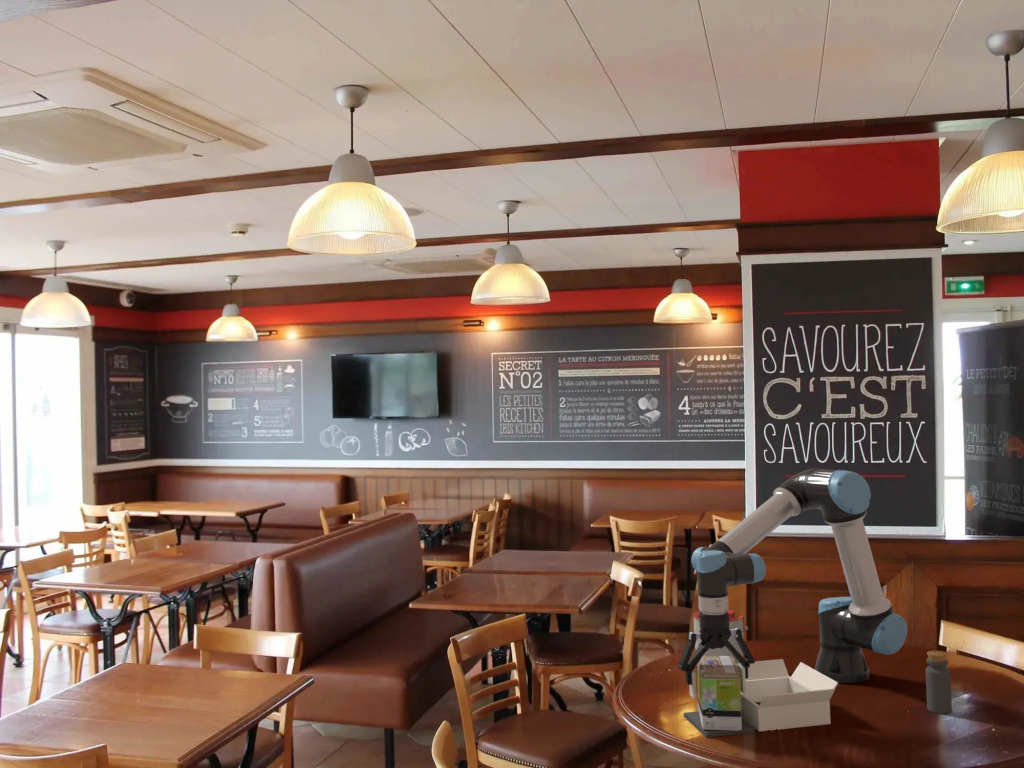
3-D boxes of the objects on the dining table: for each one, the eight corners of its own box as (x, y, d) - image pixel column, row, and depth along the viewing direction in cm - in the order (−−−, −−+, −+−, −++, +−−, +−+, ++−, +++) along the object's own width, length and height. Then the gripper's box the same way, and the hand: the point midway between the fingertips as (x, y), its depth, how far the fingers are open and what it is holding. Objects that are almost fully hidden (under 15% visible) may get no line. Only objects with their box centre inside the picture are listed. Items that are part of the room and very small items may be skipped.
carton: (795, 692, 241) (793, 657, 241) (849, 727, 214) (847, 687, 214) (719, 700, 237) (718, 664, 237) (765, 736, 210) (763, 695, 210)
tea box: (743, 731, 211) (740, 671, 211) (702, 730, 212) (699, 671, 213) (735, 710, 226) (733, 654, 226) (697, 709, 227) (695, 654, 227)
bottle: (950, 707, 225) (947, 650, 226) (953, 715, 220) (950, 656, 220) (925, 705, 227) (923, 649, 228) (929, 713, 222) (926, 655, 222)
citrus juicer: (760, 673, 259) (758, 607, 260) (708, 679, 255) (705, 612, 256) (735, 659, 274) (733, 597, 275) (686, 664, 270) (683, 601, 271)
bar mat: (729, 711, 227) (729, 708, 227) (755, 732, 213) (754, 728, 213) (683, 716, 225) (683, 712, 225) (706, 737, 210) (706, 733, 210)
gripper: (673, 619, 214) (677, 704, 213) (765, 610, 218) (769, 693, 218) (663, 612, 221) (667, 694, 221) (752, 604, 226) (756, 684, 225)
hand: (717, 694), depth 219 cm, fingers open, 13 cm apart
